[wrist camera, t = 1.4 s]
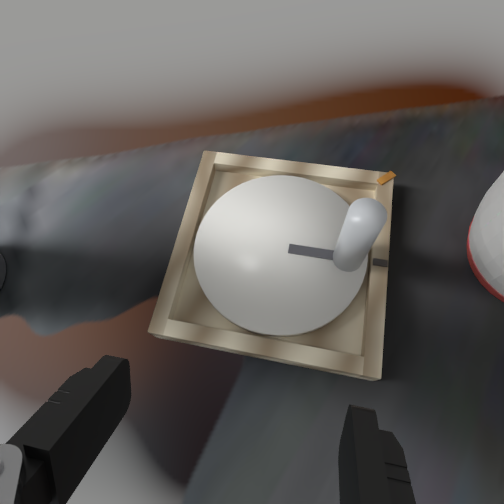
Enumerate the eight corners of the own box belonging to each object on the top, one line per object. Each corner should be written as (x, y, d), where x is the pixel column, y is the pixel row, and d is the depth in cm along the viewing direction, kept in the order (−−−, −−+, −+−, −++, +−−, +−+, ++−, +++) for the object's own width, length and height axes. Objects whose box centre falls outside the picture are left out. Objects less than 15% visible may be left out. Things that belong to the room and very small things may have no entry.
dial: (176, 318, 36) (140, 287, 27) (218, 173, 43) (200, 107, 34) (356, 353, 34) (387, 332, 24) (371, 193, 41) (399, 127, 31)
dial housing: (157, 337, 37) (146, 331, 34) (208, 164, 46) (204, 148, 43) (375, 381, 34) (384, 379, 31) (388, 187, 43) (396, 171, 40)
